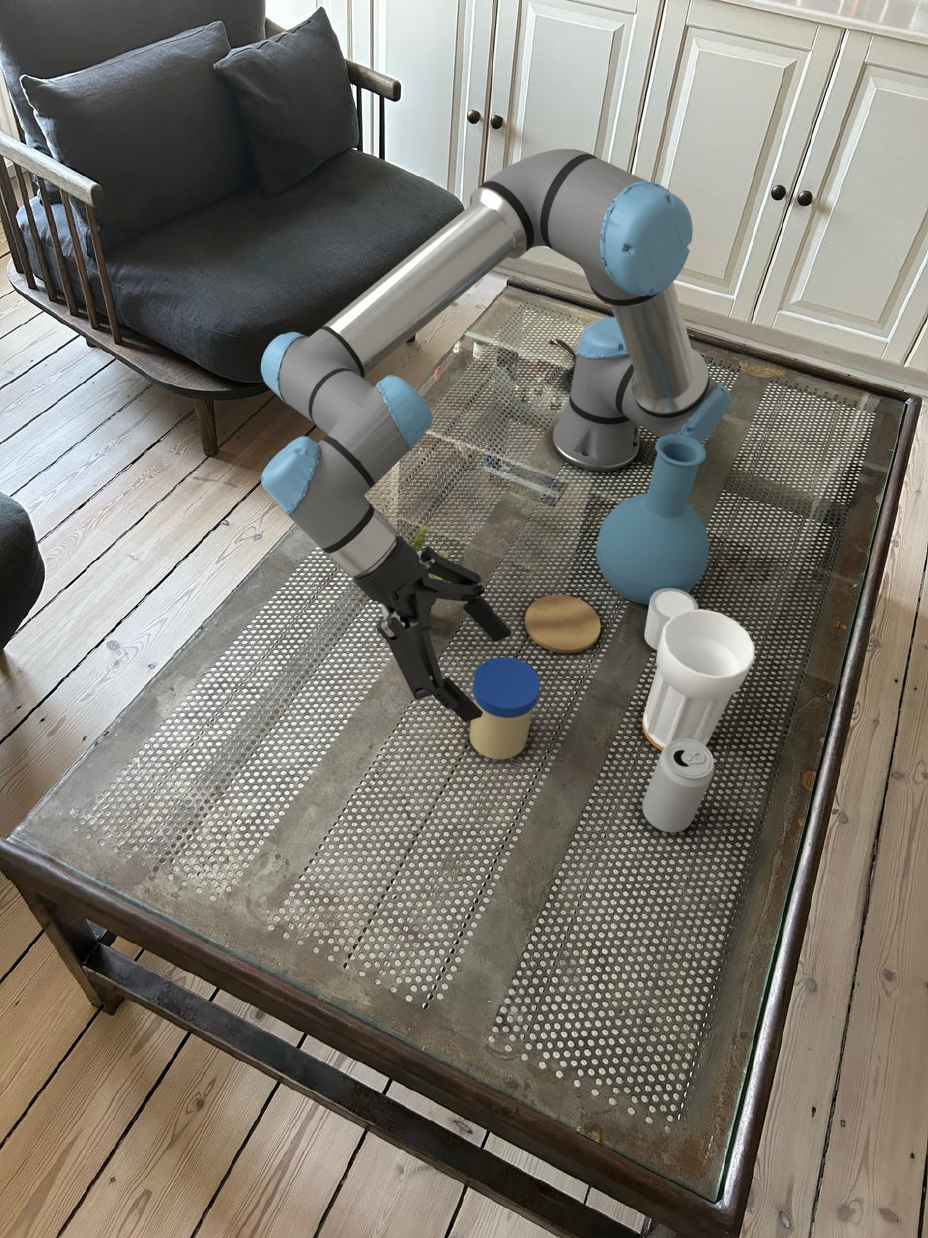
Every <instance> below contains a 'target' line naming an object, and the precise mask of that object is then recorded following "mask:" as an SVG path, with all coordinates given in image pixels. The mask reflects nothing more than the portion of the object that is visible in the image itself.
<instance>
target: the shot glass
mask: <svg viewBox="0 0 928 1238" xmlns="http://www.w3.org/2000/svg"><path fill="white" fill-rule="evenodd" d="M647 609H648V610H647V616H646V621H645V627H644V640H645V642H646V644H648V646H650V648H652V649H653V650H656V651H657V649H658V646H659V642H660V639H661V635H662V631H663V628H664V626H665V625H666V624H667V622H668V621H669V620H670V619H671V618H672V617H673V616H675V615H677V614H679V613H681V612H684V611H686V610H699V604H698V602H697V601H696V599H695V598H694V597H693V596H692V595H691V594H690V593H689V592H688V593H686V592H684V591H682V590H680V589H674V588H664V589H660V590H658V591H656V592H654V593H653V595H652V596H651V598H650V603H649V605H648V608H647Z"/></svg>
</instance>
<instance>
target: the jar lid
mask: <svg viewBox="0 0 928 1238" xmlns="http://www.w3.org/2000/svg"><path fill="white" fill-rule="evenodd" d="M540 690H541V681H540V677H539V675H538V674H537V672H536V671H535V669H534V668H533V667H532V666H531V665H529V664H528V663H526V662H524V661H523V660H521V659H517V658H514V657H509V656H499V657H494V658H491V659H487V660H486V661H484V662H483V663H482V664H481V665H480V666H479V667H478V668H477V669H476V671H475V672H474V675H473V683H472V696H473V700H474V699H475V700H476V702H477V704H478V705H479V706H480V707H481V708H482V709H483V710H485V711H486V712H488V713H490V714H492V715H494V716H497V717H503V718H514V717H518V716H522V715H524V714H526V713H527V712H529V711H530V710H531V709H532V708H533V707H535V706H536V704H537V702H538V699H539V694H540ZM533 709H534V708H533Z"/></svg>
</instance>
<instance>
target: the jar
mask: <svg viewBox="0 0 928 1238" xmlns="http://www.w3.org/2000/svg"><path fill="white" fill-rule="evenodd" d="M472 701H473V702H474V703H475V704H476V705H477V706H478V707H479V708H480V709H481V710H482V711H483V714H482V717H480V718H477V719H474V720H470V724H469V732H468V736H469V737H468V738H469V741H470V743H471V745H472V747H473V748H474V749H475V751H476V752H478V753H479V754H480V755H482V756H484V757H486V758H489V759H492V760H508V759H511V758H514V757H516V756H517V755H519V754H521V752H522V751H524V749H525V747H526V745H527V743H528V742H527V741H528V736H529V732H530V727H531V722H532V717H533V712H534V707H535V706H534V707H533V708H532V709H531V710H530V711H529V712H527V713H526V714H524V715H522V716H518V717H514V718H503V717H497V716H494V715H492V714H490V713H488V712H486V711H485V710H483V709H482V708H481V707H480V706H479V705H478V704H477V702H476V700H475V699H474V698H473V700H472Z"/></svg>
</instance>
